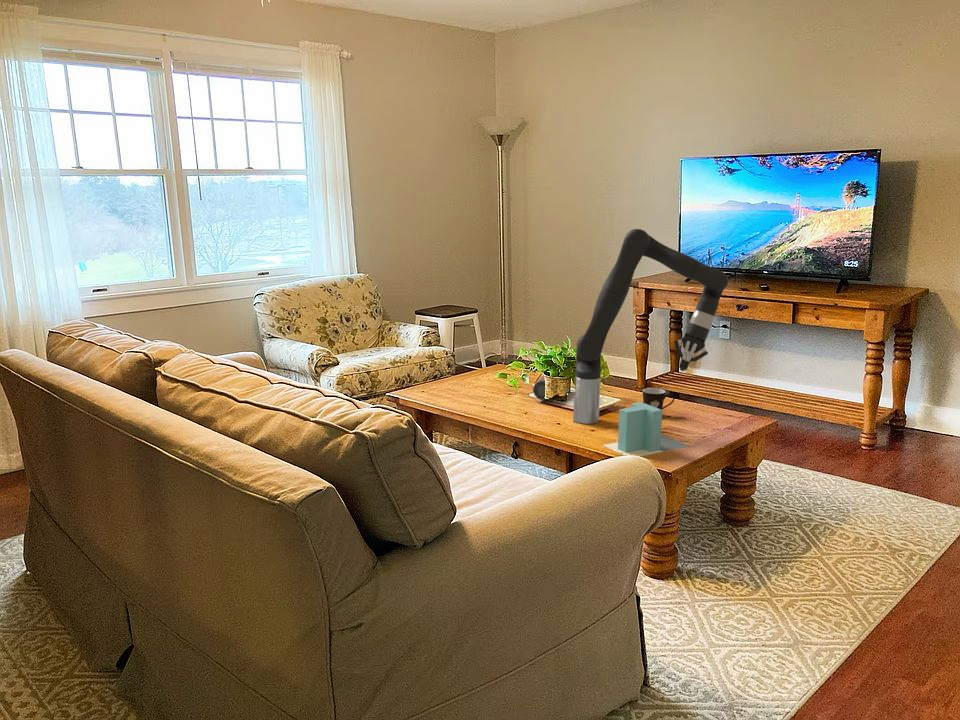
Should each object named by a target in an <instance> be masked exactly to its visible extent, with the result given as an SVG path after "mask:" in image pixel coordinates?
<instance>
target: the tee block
mask: <svg viewBox="0 0 960 720" xmlns="http://www.w3.org/2000/svg"><path fill="white" fill-rule="evenodd" d="M618 411H619V413H618V415H619V416H618V435H617V436H618V437H617V439H618V440H617V442H618V449H619V450H621V451H623V452H625V453H626V452H631V451H636V450H641V449H646V450H648V451H650V452H653V451H658V450H660V445H661V434H662V428H663V427H662V423H663V410H661V409H658V408H655V407H653V406H650V405H647V404H645V403H643V401H640V402H638V401H637V402H633V403H631V406H630V407H625V408H620V409H619V410H618Z"/></svg>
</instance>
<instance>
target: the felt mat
mask: <svg viewBox="0 0 960 720" xmlns="http://www.w3.org/2000/svg"><path fill="white" fill-rule="evenodd" d="M602 445H603V447H605V448H607V449H610V450H611V451H615V452H616V453H618V452H619V454H620V453H623V454H621V455H622V456H624V455H630V454H632V455H638V456H640V457H643V456H649V455H654V454H659V453H663V452H669V451H674V450H679V449H684V448H689V447H691V445H689V444H686V443H684V442H682V441H679V440H677V439H675V438H672V437H669V436H667V435H664V434H662V433H661V445H660V450H658V451H653V452H650V451H648V450H646V449H641V450H636V451H631V452H626V453H625V452H623V451H621V450H619V449H618V441H617V442H611V443H607V444H605V443H604V444H602Z"/></svg>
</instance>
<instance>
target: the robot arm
mask: <svg viewBox="0 0 960 720" xmlns="http://www.w3.org/2000/svg"><path fill="white" fill-rule="evenodd" d="M643 257H646V258H649V259H650V260H651V259H652V260H654V261H657V262H658V263H660V264H661V265H664V266H665V267H666V268H668V269H670V270H671V271H673V272H675V273H677V274H679V275H681V276H683V277H685V278H687V279H689V280H692V281H694V282H698V283H700V284H701V285H704V286H703V289H702V292H701V296H700V298H699V300H698V302H697V303H696V307H695V308H694V309H695V310H694V312H693V314H692V315H691V318H690V320H689V322H688V325H687V328H686V330H685V332H684V335H683V336H682V337H681V338H680V339H677V340H674V341H673V342H674V347H675V349H676V352H677V356H678V357H680V359H681V361H680V363H679V367H678V368H679V371H683V372H685V371H687V370H688V368H689V365H690V363H691V362H693V363H694V362H697V361H699V360H701V359H702V358H704V357H706V356H708V355H709V352H708V351H707V349H706V348H705V347H706V340H707V338H708V336H709V333H710V331H711V329H712V326H713V322H714V320H715V319H714V318H715V315H716V313H717V310H718V307H719V303H720V299H721V297H722V294H723V292H724V291H725V289H726V288H727V286H728V284H729V278H728V276H727V274H726V273H725V272H724V271H721V270H719V269H717V268H715V267H712V266H709V265H707V264H705V263H703V262H701V261H699V260H697V259H696V258H694V257H691V256H689V255H688V254H685V253H683V252H680V251H678V250H675V249H673V248H671V247H669V246H666V245H665V244H663V243H661V242H660V241H658V240H656V239H655V238H654V237H653V236H651V235H650V234H648V233H647V231H645V230H643V228H642V229H641V228H633V229H631V230H629V231H628V232H627V233H626V234H625V236H624V237H623V241H622V244H621V248H620V251H619V254H618V257H617V259H616V262H615V264H614V266H613V267H612V269H611V270H610V272H609V273H608V275H607V277H606V280H605V282H604V284H603V285H602V288H601V290H600V292H599V294H598V297H597V300H596V303H595V306H594V308H593V312H592V317H591V319H590V323H589V325H588V326H587V329H586V331H585V332H584V334H582V335H580V337H578V340H576V341H577V342H576V348H575V349H576V352H575V353H576V354H575V355H576V356H575V357H576V358H575V391H574V393H575V394H574V398H573V414H572V415H573V418H572V419H573V422H575V423H578V424H587V425H590V424H591V425H593V424H597V423H598V422H599V420H600V418H599V417H600V400H601V399H600V398H601V397H600V395H601V371H602V368H601V367H602V365H601V364H602V363H601V360H602V351H603V348H604V345H605V342H606V339H607V336H608V334H609V331H610V329H611V327H612V325H613V324H614V322H615V320H616V318H617V317H618V314H619V313H620V310H621V309H622V307H623V305H624V302H625V301H626V297H627V296H628V293H629V291H630V290H629V289H630V288H631V284H632V280H633V277H634V274H635V271H636V269H637V266H638V265H639V264H640V261H641V260H642V258H643ZM681 345H682V347H683V352H682V349H681ZM698 352H700V353H699V354H698ZM696 353H697V354H698V355H696V356H695V357H694V355H695V354H696Z"/></svg>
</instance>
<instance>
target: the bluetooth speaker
mask: <svg viewBox="0 0 960 720" xmlns="http://www.w3.org/2000/svg"><path fill="white" fill-rule="evenodd" d="M532 392H533V395H534V396H535V398H537V399H538V400H541V401H546V400H545V398H544V397H545V380H544V377H543V376H542V377H540V378H539V379H538V380H537V381H536V382H535V383H534V385H533V389H532Z"/></svg>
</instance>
